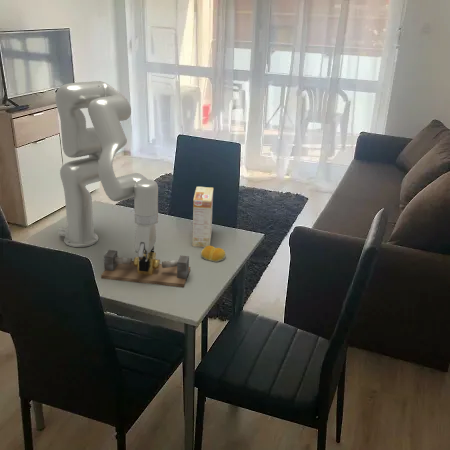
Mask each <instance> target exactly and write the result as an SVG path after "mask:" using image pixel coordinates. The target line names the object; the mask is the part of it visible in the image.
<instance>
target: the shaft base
mask: <svg viewBox="0 0 450 450" xmlns="http://www.w3.org/2000/svg"><path fill="white" fill-rule="evenodd" d="M103 262H104V266H103V269H104V270H103V272H102V273H101V274H100V278H101V279H105V280H111V281H113V280H114V281H123V282H130V283H131V282H133V283H141V284H151V285H160V286H170V287H176V288H177V287H178V288H185V285H186V282H187V279H188V278H189V275H190V272H191V266H190V256H189V255H182V254H181V255H179V257H178V259H173V260H166V261H161V263H160V267H159V269H155V271H154V273H153V275H146V274H138V267H134V265H133V262H134V260H133V259H132V258H131V257H122V256H118V250H115V249H114V250H113V249H108V250H107V251H106V252H105V255H103Z"/></svg>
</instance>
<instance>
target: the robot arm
mask: <svg viewBox="0 0 450 450" xmlns="http://www.w3.org/2000/svg"><path fill="white" fill-rule="evenodd" d="M54 98H55V106H56V109H57V112H58V115H59V119H60V121H59V122H60V133H61V143H62V150H63V153H64V155H65V156H66V157H68V158H72V159H73V158H79V159H74V160H71V161H68V162H65V163H64V164H63V165H61V167H60V170H59V175H60V180H61V183H62V186H63V191H64V200H65V201H64V204H65V213H66V215H65V216H66V224H67V225H66V226H67V227H66V228H64V227H58V230H57V232H58V235H59V236H64V239H63V241H64V243H65V245H67V246H68V247H69V246H70V247H73V248H85V247H90V246H92V245H94V244H96V243H97V242H98V241H99V235H98V234H97V233H96V232H95V231H94V230H95V229H94V214H93V196H92V194H91V192H90V191H89V190H88V189H87V187H86V186H88V185H91V184H95V183H98V182H100V183H101V186H102V188H103V191H104V192H105V194H106V196H107V198H108V199H109V200H111V201H113V202H116V203H117V202H121V201H122V202H123V201H126V200H128V199H129V200H130V198H133V199H134V223H135V224H136V226H135V233H134V234H135V236H134V239H135V240H134V252H135V253H138V256H137V257H139V271H145V272H148V271H149V261H148V253H150V252H154V253H155V244H156V240H157V226H156V225H157V224H158V222H159V186H158V183H157V181H155V180H153V179H148V178H147V177H146V176H144V175H143V174H141V173H139V172H133V173H130V174H126V175H125V174H124V175H121V176H118V177H117V176H116V173H115V171H114V167H113V165H114V163H113V161H114V158H115V156H116V154H117V153H118V152H119V151H120V150H121V149H123V148H124V147H125V146H126V145H127V142H128V139H127V137H126V134H125V132H124V129H123V126H122V124H121V122H122V121H123V122H124V121H127V120H128V119H129V118H130V117H131V115H132V107H131V104H130V102H129V100H128V99H127V98H126V97H125V95H123V94H122V93H121V92H119V91H118V90H116V89H115V88H114V87H113V86H111V85H110V84H108V83H107V82H104V81H101V80H92V81H81V82H79V81H77V82H71V83H65V84H63V85H61V86H59V87H58V88H57V90H56V92H55V97H54ZM81 109H87V112H88V116H89V118H90V121H91V124H92V126H93V127H87V120H86V116H85V114H84V112H83V111H82V110H81ZM87 156H88V157H87ZM81 157H85V158H81ZM143 254H146V257H145V256H144V255H143Z"/></svg>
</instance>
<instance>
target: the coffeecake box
mask: <svg viewBox="0 0 450 450" xmlns="http://www.w3.org/2000/svg"><path fill="white" fill-rule="evenodd" d="M213 202H214V187H211V186H210V187H206V186H196V188H195V190H194V195H193V204H192V205H193V206H192V210H193V212H192V213H193V214H192V242H191V243H192V244H191V246H192V247H194V248H205V247H206V246H211V239H212V228H213V227H212V226H213V223H212V222H213V206H214V205H213V204H214V203H213Z"/></svg>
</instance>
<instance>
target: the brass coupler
mask: <svg viewBox="0 0 450 450" xmlns="http://www.w3.org/2000/svg"><path fill="white" fill-rule="evenodd" d="M156 254H157V253H156V252H155V251H154V252H150V253H148V261H149V271H148V272H145V271H139V257H138V256H135V257H134V259H133V261H134V262H133V265H134V267H138V274H146V275H153V273H154V271H155V269H159V267H160V264H161V260H160V259H158V258H157V255H156ZM143 255H144V256H145V257H146V254H143ZM156 258H157V259H156Z"/></svg>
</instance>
